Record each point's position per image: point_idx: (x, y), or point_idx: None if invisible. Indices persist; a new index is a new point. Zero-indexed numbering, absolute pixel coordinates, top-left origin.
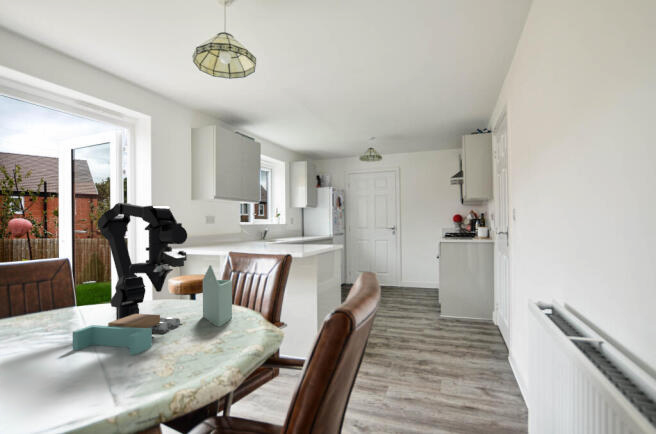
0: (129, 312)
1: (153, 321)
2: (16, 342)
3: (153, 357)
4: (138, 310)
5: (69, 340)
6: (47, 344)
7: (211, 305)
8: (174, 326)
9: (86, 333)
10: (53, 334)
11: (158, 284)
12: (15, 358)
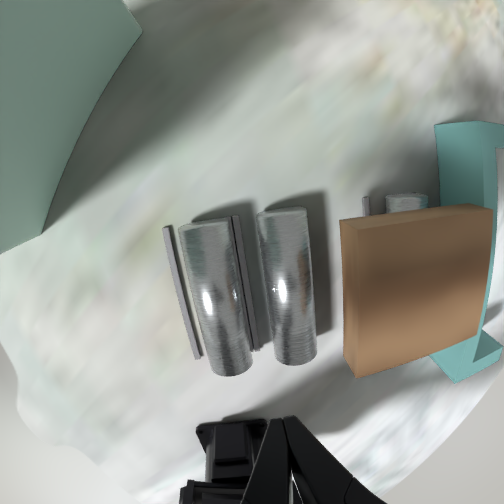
0: (253, 457)
1: (394, 218)
2: (414, 462)
3: (472, 65)
4: (218, 454)
5: (410, 412)
6: (432, 417)
7: (45, 96)
8: (225, 219)
9: (477, 349)
10: (369, 469)
11: (337, 463)
12: (491, 376)
